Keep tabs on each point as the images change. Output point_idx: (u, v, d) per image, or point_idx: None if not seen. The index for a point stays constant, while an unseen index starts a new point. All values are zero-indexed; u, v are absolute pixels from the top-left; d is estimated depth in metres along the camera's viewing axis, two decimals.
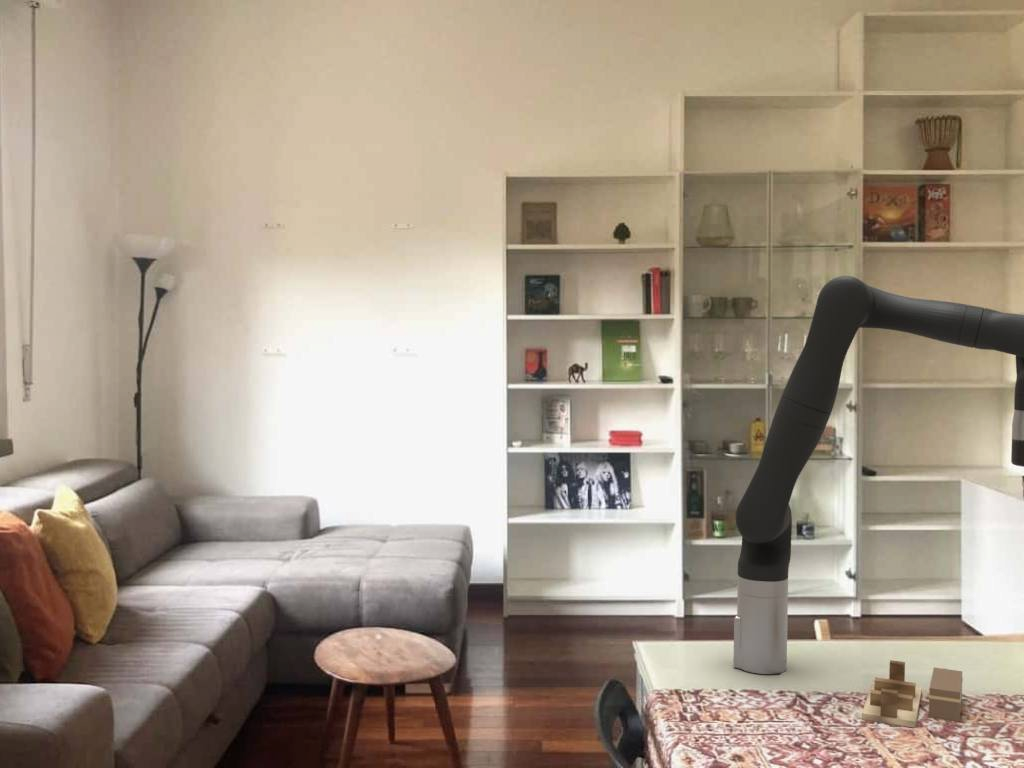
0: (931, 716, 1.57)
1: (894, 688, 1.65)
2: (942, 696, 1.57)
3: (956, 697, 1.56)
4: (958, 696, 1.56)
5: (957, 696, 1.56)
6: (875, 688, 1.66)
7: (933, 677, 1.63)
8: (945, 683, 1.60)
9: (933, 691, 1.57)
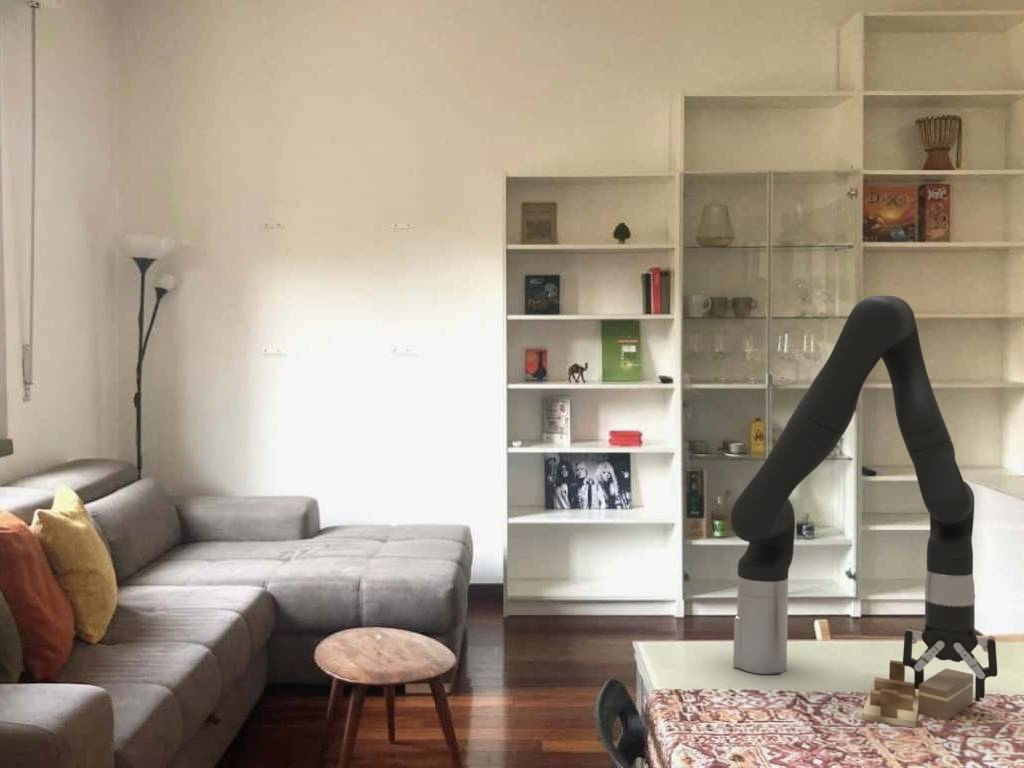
0: (920, 713, 1.59)
1: (894, 688, 1.65)
2: (931, 694, 1.58)
3: (943, 696, 1.56)
4: (945, 695, 1.56)
5: (944, 695, 1.56)
6: (875, 688, 1.66)
7: (934, 676, 1.63)
8: (940, 682, 1.60)
9: (922, 688, 1.59)
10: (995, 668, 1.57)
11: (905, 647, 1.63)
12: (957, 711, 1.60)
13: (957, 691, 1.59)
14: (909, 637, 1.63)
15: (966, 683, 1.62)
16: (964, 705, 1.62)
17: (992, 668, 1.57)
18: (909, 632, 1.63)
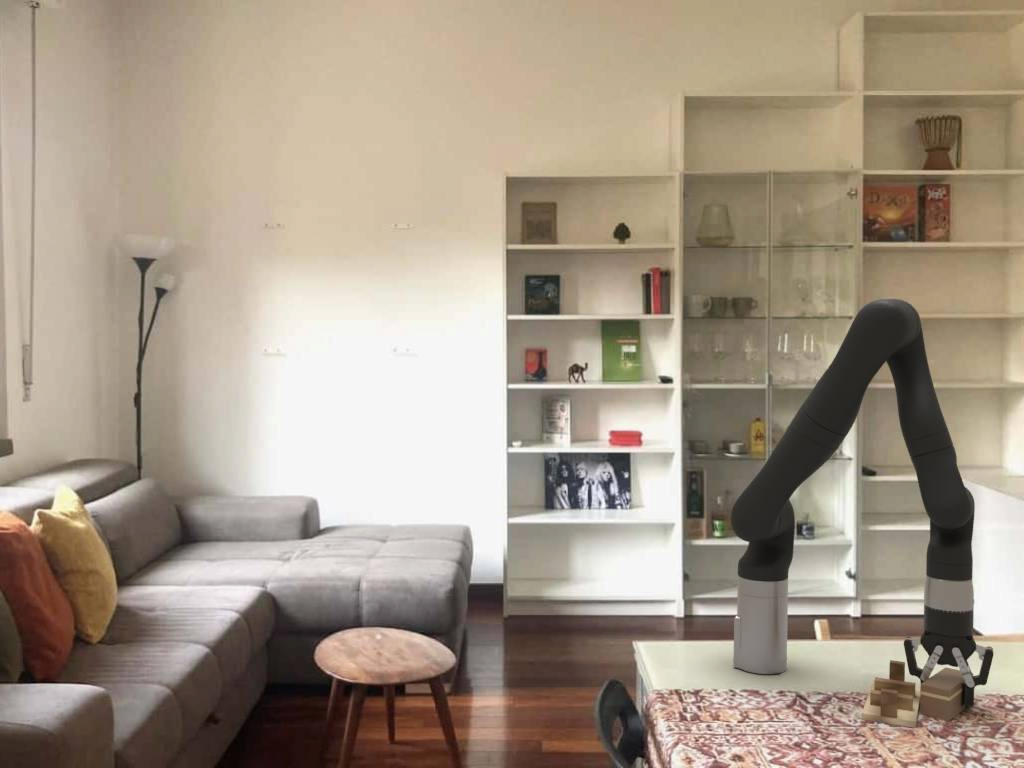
0: (922, 712, 1.59)
1: (894, 688, 1.65)
2: (933, 693, 1.58)
3: (946, 695, 1.56)
4: (947, 694, 1.56)
5: (946, 694, 1.56)
6: (875, 688, 1.66)
7: (935, 675, 1.63)
8: (942, 681, 1.60)
9: (924, 687, 1.58)
10: (984, 677, 1.58)
11: (907, 657, 1.63)
12: (958, 710, 1.59)
13: (958, 690, 1.59)
14: (909, 646, 1.63)
15: None
16: None
17: (983, 677, 1.58)
18: (907, 641, 1.63)
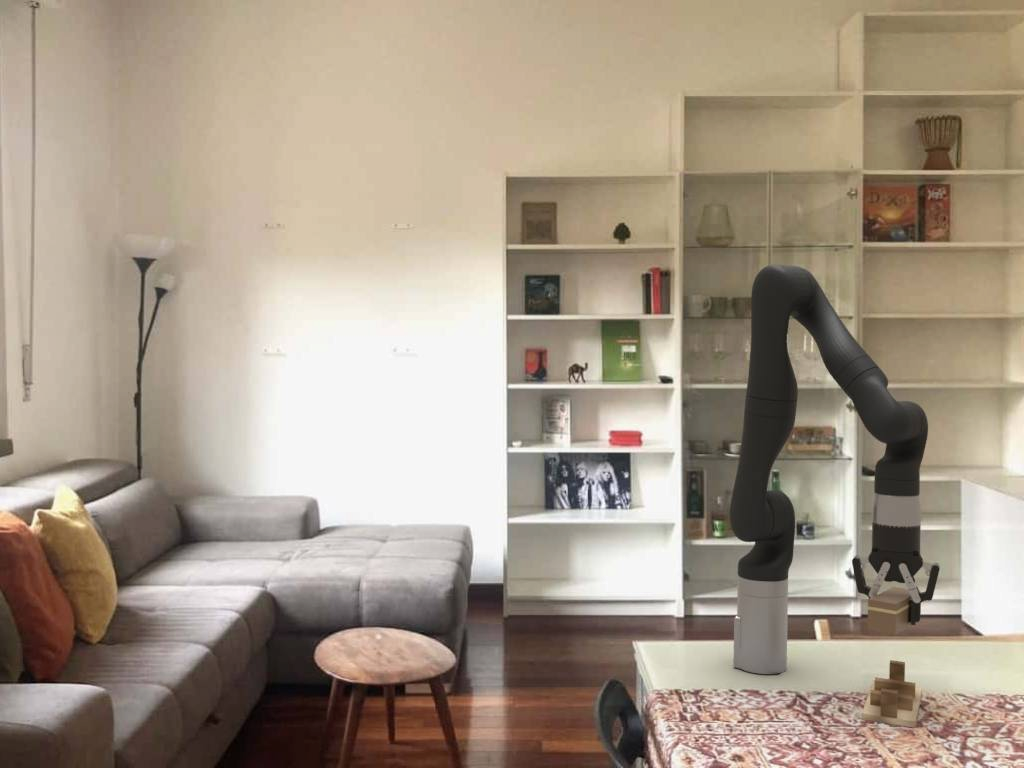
0: (869, 627, 1.59)
1: (894, 688, 1.65)
2: (880, 608, 1.58)
3: (892, 609, 1.57)
4: (894, 608, 1.56)
5: (893, 608, 1.56)
6: (875, 688, 1.66)
7: (882, 593, 1.64)
8: (889, 597, 1.60)
9: (871, 602, 1.59)
10: (930, 592, 1.59)
11: (856, 575, 1.64)
12: (905, 625, 1.60)
13: (905, 605, 1.60)
14: (857, 564, 1.64)
15: None
16: None
17: (929, 592, 1.59)
18: (856, 559, 1.64)
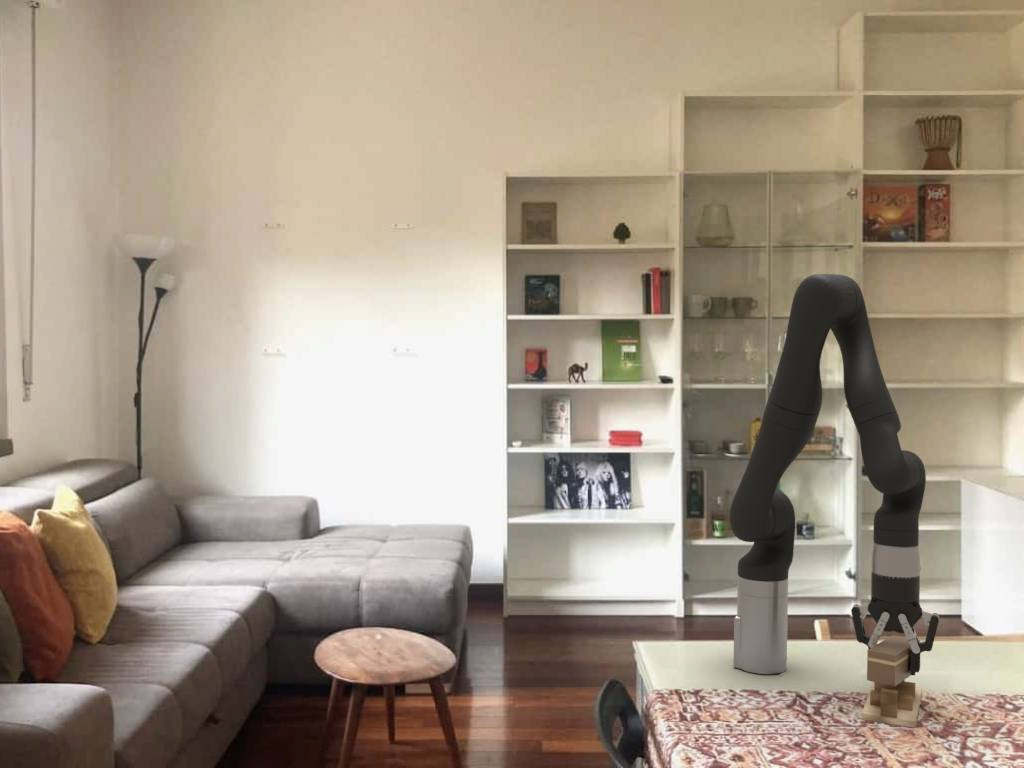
0: (869, 678, 1.59)
1: (894, 688, 1.65)
2: (879, 659, 1.58)
3: (892, 660, 1.57)
4: (894, 659, 1.56)
5: (893, 659, 1.56)
6: (875, 688, 1.66)
7: (882, 642, 1.64)
8: (889, 647, 1.61)
9: (871, 653, 1.59)
10: (930, 643, 1.59)
11: (855, 624, 1.64)
12: (905, 676, 1.60)
13: (905, 656, 1.60)
14: (856, 613, 1.64)
15: None
16: None
17: (928, 643, 1.59)
18: (855, 608, 1.64)
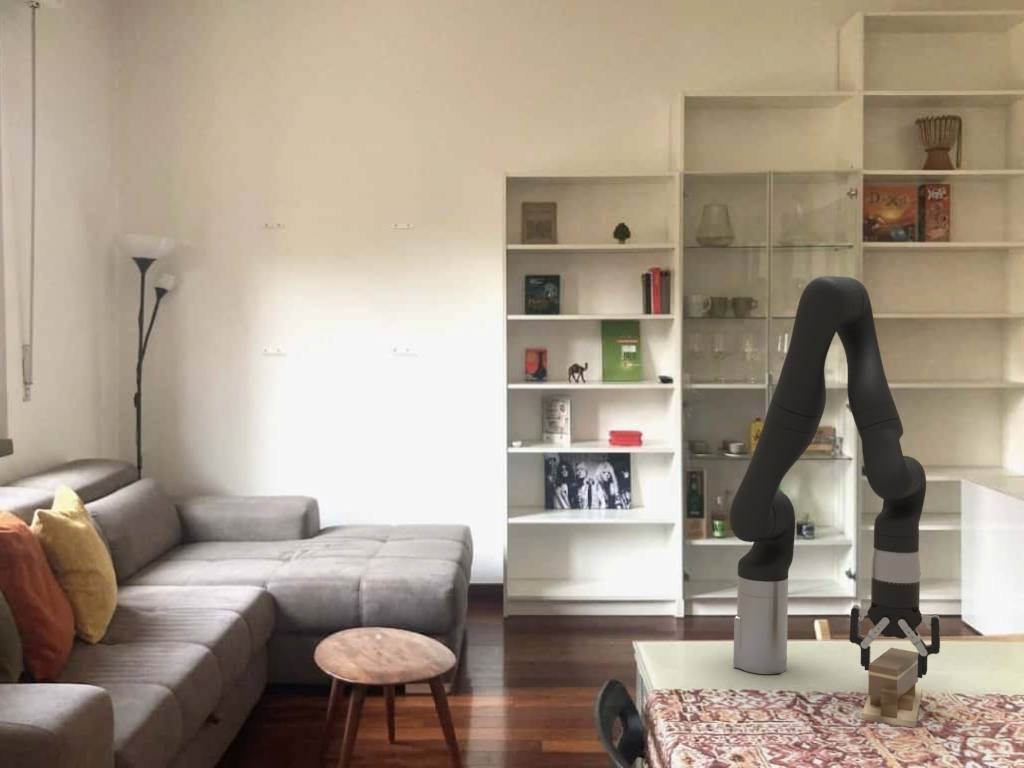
0: (870, 692, 1.59)
1: None
2: (881, 673, 1.58)
3: (894, 674, 1.57)
4: (895, 673, 1.56)
5: (894, 673, 1.57)
6: None
7: (882, 655, 1.64)
8: (889, 661, 1.61)
9: (872, 667, 1.59)
10: (937, 645, 1.58)
11: (851, 624, 1.64)
12: (905, 689, 1.60)
13: (905, 669, 1.60)
14: (855, 614, 1.64)
15: (912, 661, 1.63)
16: (911, 683, 1.63)
17: (934, 645, 1.59)
18: (855, 609, 1.64)
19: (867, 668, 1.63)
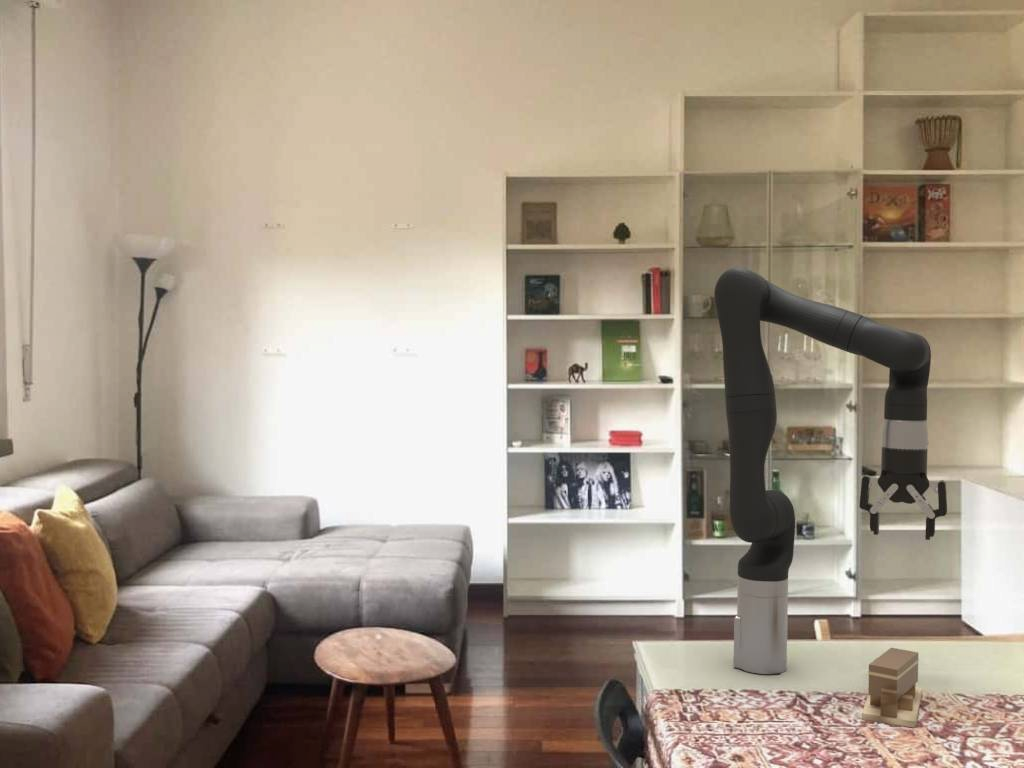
0: (870, 692, 1.59)
1: None
2: (881, 673, 1.58)
3: (894, 674, 1.57)
4: (895, 673, 1.56)
5: (894, 673, 1.57)
6: None
7: (882, 655, 1.64)
8: (889, 661, 1.61)
9: (872, 667, 1.59)
10: (944, 508, 1.68)
11: (862, 491, 1.74)
12: (905, 689, 1.60)
13: (905, 669, 1.60)
14: (866, 482, 1.73)
15: (912, 661, 1.63)
16: (911, 683, 1.63)
17: (942, 508, 1.68)
18: (866, 477, 1.73)
19: (876, 532, 1.73)
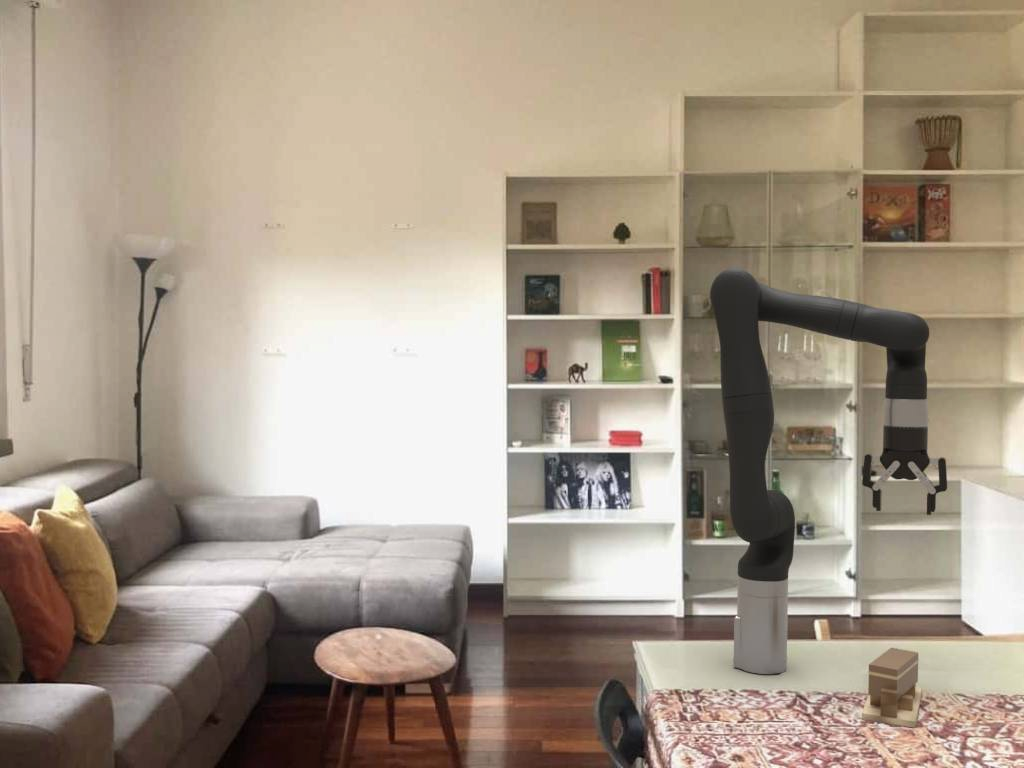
0: (870, 692, 1.59)
1: None
2: (881, 673, 1.58)
3: (894, 674, 1.57)
4: (895, 673, 1.56)
5: (894, 673, 1.57)
6: None
7: (882, 655, 1.64)
8: (889, 661, 1.61)
9: (872, 667, 1.59)
10: (945, 483, 1.73)
11: (864, 469, 1.79)
12: (905, 689, 1.60)
13: (905, 669, 1.60)
14: (868, 460, 1.79)
15: (912, 661, 1.63)
16: (911, 683, 1.63)
17: (942, 483, 1.73)
18: (868, 455, 1.79)
19: (878, 509, 1.78)
